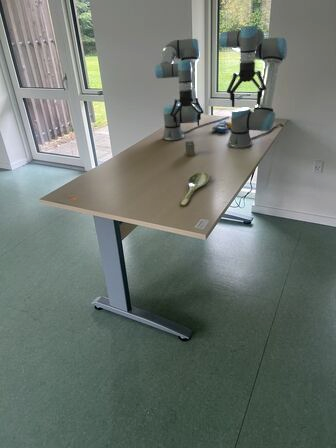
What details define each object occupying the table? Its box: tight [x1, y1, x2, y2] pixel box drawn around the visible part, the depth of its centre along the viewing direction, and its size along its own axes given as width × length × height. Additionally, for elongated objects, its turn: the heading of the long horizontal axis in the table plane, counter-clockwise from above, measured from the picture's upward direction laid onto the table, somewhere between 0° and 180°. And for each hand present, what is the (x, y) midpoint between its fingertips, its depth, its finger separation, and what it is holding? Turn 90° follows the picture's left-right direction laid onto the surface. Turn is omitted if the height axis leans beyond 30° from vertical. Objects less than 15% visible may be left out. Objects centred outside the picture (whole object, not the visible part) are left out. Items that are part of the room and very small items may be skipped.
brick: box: [184, 140, 195, 158], centre depth 214 cm, size 7×5×8 cm
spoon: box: [180, 171, 210, 207], centre depth 170 cm, size 35×11×2 cm, turn 159°
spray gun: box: [211, 120, 231, 133], centre depth 256 cm, size 21×4×15 cm
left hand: (187, 126), depth 206 cm, fingers open, 13 cm apart
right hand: (245, 105), depth 179 cm, fingers open, 13 cm apart
